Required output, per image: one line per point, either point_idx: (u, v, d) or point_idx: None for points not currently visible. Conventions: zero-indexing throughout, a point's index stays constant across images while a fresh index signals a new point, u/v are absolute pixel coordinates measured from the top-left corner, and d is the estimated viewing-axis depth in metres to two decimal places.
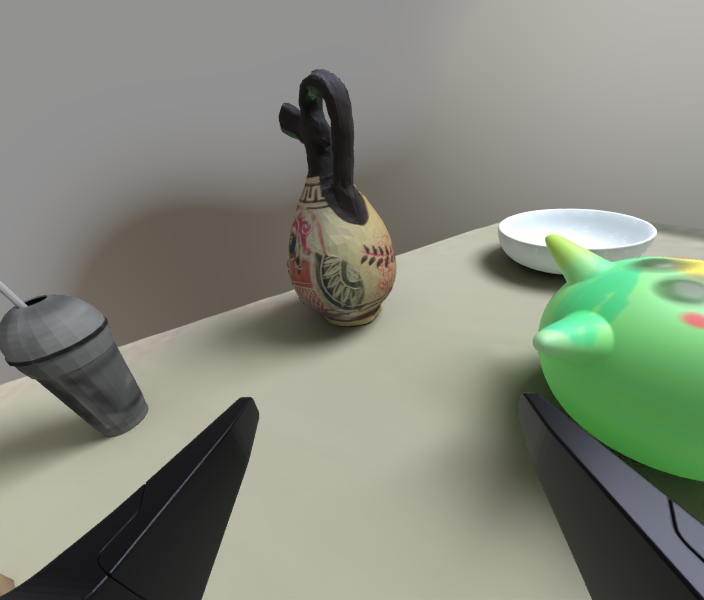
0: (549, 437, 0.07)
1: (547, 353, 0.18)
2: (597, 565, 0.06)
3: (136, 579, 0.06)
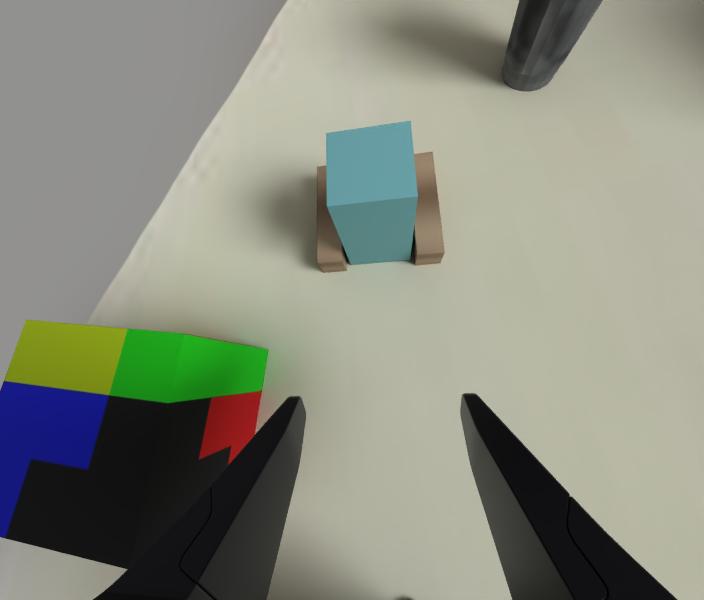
0: (478, 437, 0.08)
1: None
2: (511, 560, 0.07)
3: (216, 585, 0.06)
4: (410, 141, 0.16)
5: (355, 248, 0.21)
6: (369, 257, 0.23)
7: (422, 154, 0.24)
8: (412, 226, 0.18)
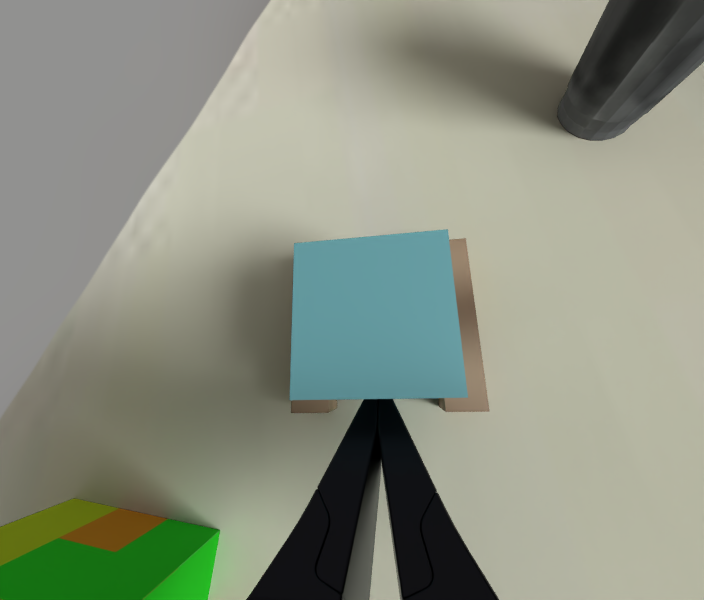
0: (379, 437, 0.08)
1: None
2: (394, 553, 0.07)
3: (349, 596, 0.05)
4: (449, 272, 0.09)
5: None
6: None
7: (451, 241, 0.16)
8: None
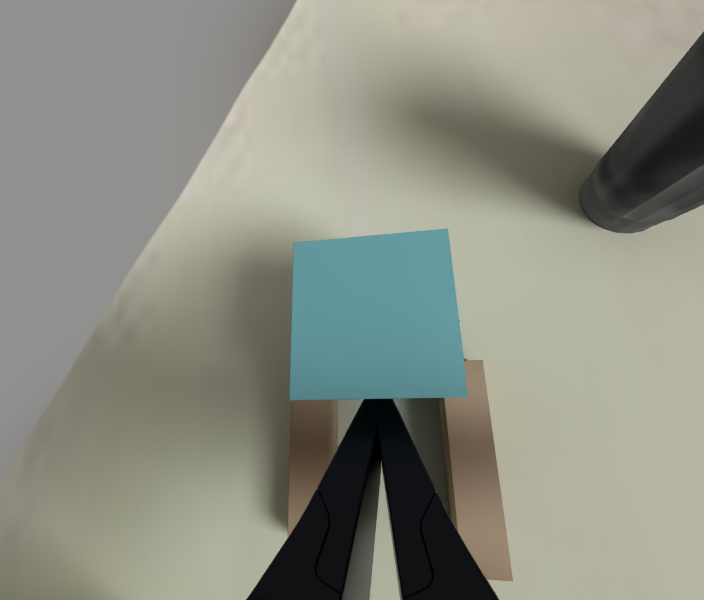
0: (379, 437, 0.08)
1: None
2: (394, 553, 0.07)
3: (350, 597, 0.05)
4: (449, 271, 0.09)
5: None
6: None
7: (466, 363, 0.14)
8: None
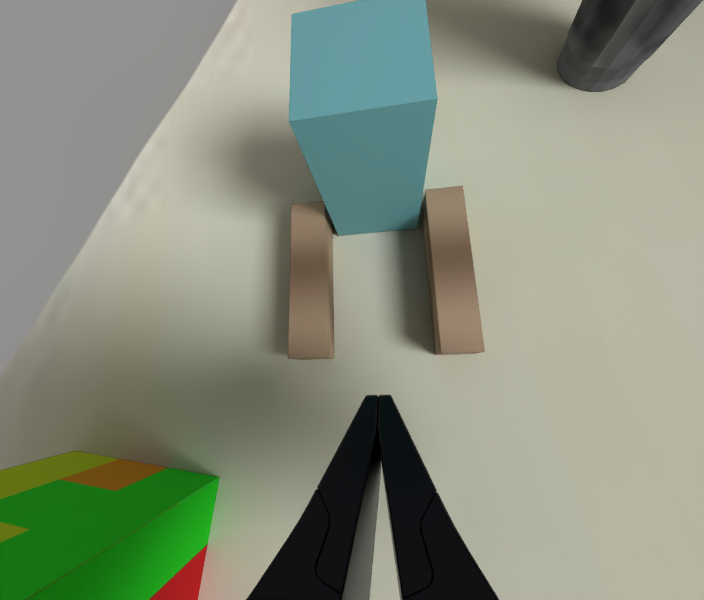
0: (379, 437, 0.08)
1: None
2: (394, 553, 0.07)
3: (350, 597, 0.05)
4: (424, 17, 0.10)
5: (342, 208, 0.15)
6: (361, 223, 0.17)
7: (448, 189, 0.16)
8: (424, 167, 0.12)
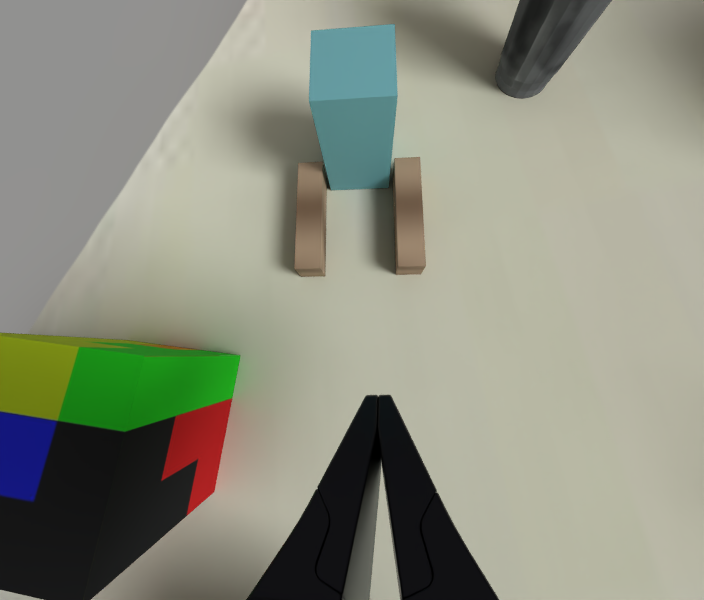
0: (379, 436, 0.08)
1: None
2: (394, 553, 0.07)
3: (350, 596, 0.05)
4: (393, 43, 0.17)
5: (336, 166, 0.22)
6: (348, 180, 0.24)
7: (410, 159, 0.23)
8: (391, 139, 0.19)
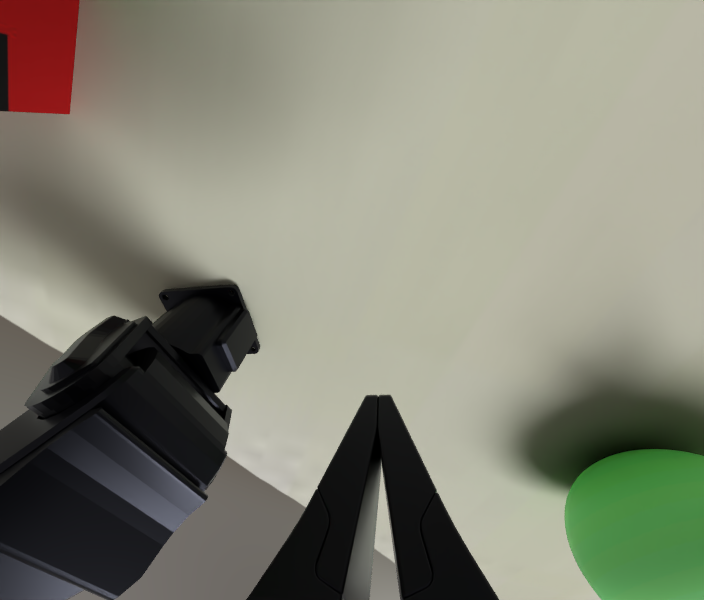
0: (379, 437, 0.08)
1: None
2: (394, 553, 0.07)
3: (350, 596, 0.05)
4: None
5: None
6: None
7: None
8: None
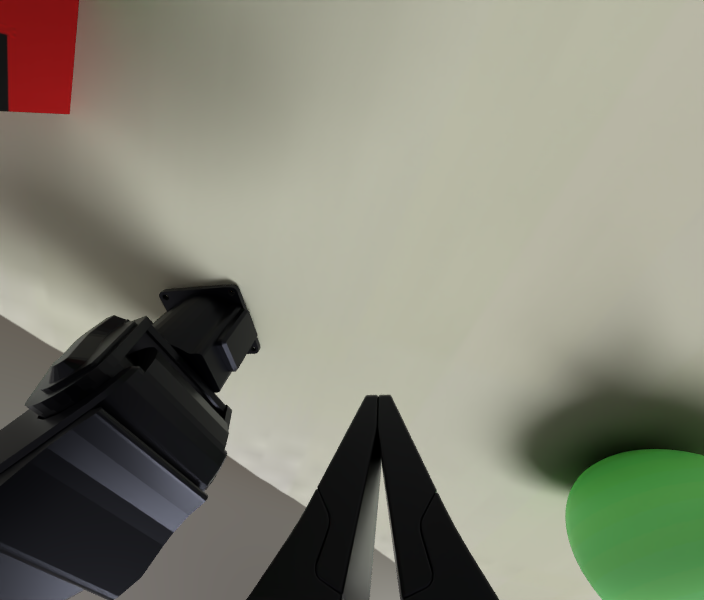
0: (379, 437, 0.08)
1: None
2: (394, 553, 0.07)
3: (350, 596, 0.05)
4: None
5: None
6: None
7: None
8: None
